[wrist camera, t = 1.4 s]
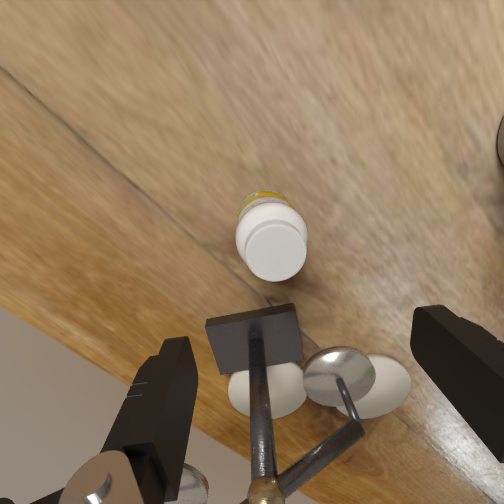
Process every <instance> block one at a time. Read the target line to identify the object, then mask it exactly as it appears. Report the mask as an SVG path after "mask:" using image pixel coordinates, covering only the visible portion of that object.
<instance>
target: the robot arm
mask: <svg viewBox="0 0 504 504" xmlns="http://www.w3.org/2000/svg"><path fill="white" fill-rule="evenodd" d="M498 153H499V156H500V159H501V162H502V164H503V165H504V118H503V120H502V123H501V127H500V130H499V135H498ZM410 347H411V351H412V354H413V356H414V358H415V360H416V361H417V362H418V364H419V365H420V366H421V367H422V368H423V370H424V371H425V372H426V373H427V375H428V376H429V377H430V378H431V379H432V381H433V382H434V383H435V384H436V385H437V387H438V388H439V389H440V390H441V392H442V393H443V394H444V395H445V396H446V398H447V399H448V400H449V401H450V403H451V404H452V405H453V406H454V407H455V409H456V410H457V411H458V412H459V413H460V415H461V416H462V417H463V418H464V420H465V421H466V422H467V423H468V424H469V426H470V427H471V428H472V429H473V431H474V432H475V433H476V434H477V435H478V437H479V438H480V439H481V440H482V441H483V443H484V444H485V445H486V446H487V448H488V449H489V450H490V451H491V452H492V454H493V455H494V456H495V457H496V459H497V460H498V461H499V462H500V463H504V343H503V342H501V341H500V340H499V341H498V340H497V338H496V337H495V336H493V335H492V334H491V333H489V332H488V331H487V330H485V329H484V328H483V327H481V326H479V325H477V324H475V323H473V322H471V321H469V320H466V319H464V318H462V317H460V318H459V317H458V316H457V315H455V314H454V313H453V312H451V311H450V310H449V309H448V308H446V307H445V306H443V305H432V306H424V307H417V308H416V309H415V310H414V315H413V323H412V331H411V339H410ZM197 388H198V371H197V366H196V363H195V359H194V355H193V352H192V348H191V344H190V341H189V338H188V337H187V336H184V337H177V338H169V339H165V340H164V342H163V344H162V347H161V349H160V352H159V354H158V355H156V356H150V357H149V358H148V359H147V360H146V362H145V363H144V364H143V365H142V366H141V367H140V368H139V370H138V372H137V374H136V376H135V378H134V381H133V383H132V386H131V387H130V389H129V391H128V394H127V398H126V399H125V400H124V402H123V405H122V406H121V409H120V411H119V413H118V415H117V418H116V419H115V422H114V424H113V426H112V428H111V431H110V432H109V435H108V437H107V439H106V441H105V443H104V446H103V448H102V450H101V451H100V453H99V455H96V456H95V457H93V458H91V459H90V460H88V461H87V462H86V463H85V464H84V465H82V466H81V467H80V468H79V469H78V470H77V471H76V472H75V474H74V475H73V476H72V478H71V479H70V480H69V482H68V483H67V485H66V486H65V487H64V488H62V489H61V490H59V491H56V492H54V493H52V494H50V495H48V496H46V497H43V498H41V499H39V500H37V501H35V502H33V503H30V504H163V503H164V502H171V501H177V499H178V493H179V488H180V482H181V477H182V471H183V466H184V460H185V455H186V449H187V444H188V438H189V433H190V427H191V422H192V416H193V410H194V405H195V399H196V394H197ZM0 504H14V503H13V501H12V500H10V499H8V498H0Z"/></svg>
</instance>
